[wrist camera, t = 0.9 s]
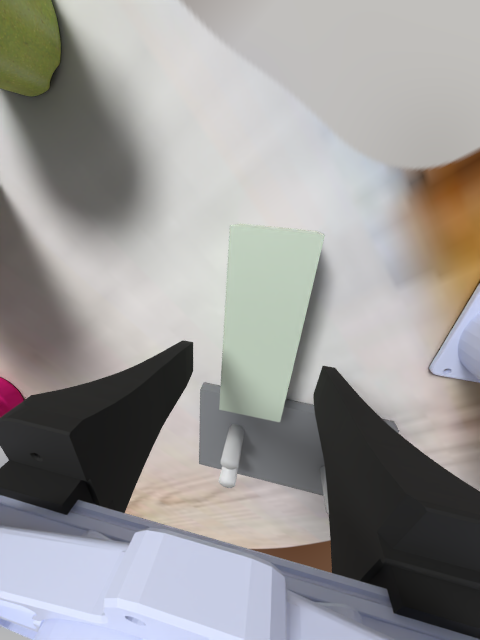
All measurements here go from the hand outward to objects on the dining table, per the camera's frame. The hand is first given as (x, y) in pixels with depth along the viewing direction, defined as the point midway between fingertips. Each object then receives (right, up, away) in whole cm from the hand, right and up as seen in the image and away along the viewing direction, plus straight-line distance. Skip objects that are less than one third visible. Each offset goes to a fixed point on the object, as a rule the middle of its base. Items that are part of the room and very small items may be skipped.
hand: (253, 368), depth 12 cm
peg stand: (+4, -10, +11) cm, 16 cm away
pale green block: (+1, +3, +6) cm, 7 cm away
